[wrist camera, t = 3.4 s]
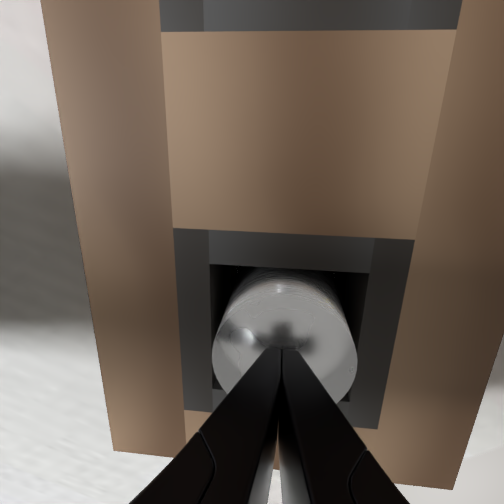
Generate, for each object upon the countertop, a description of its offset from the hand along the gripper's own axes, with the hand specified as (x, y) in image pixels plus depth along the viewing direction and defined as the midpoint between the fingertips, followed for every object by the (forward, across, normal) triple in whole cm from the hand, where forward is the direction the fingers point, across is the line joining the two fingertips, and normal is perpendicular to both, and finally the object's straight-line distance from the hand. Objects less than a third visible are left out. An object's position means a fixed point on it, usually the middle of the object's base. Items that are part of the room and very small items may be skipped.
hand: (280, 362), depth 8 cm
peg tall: (+5, 0, 0) cm, 5 cm away
